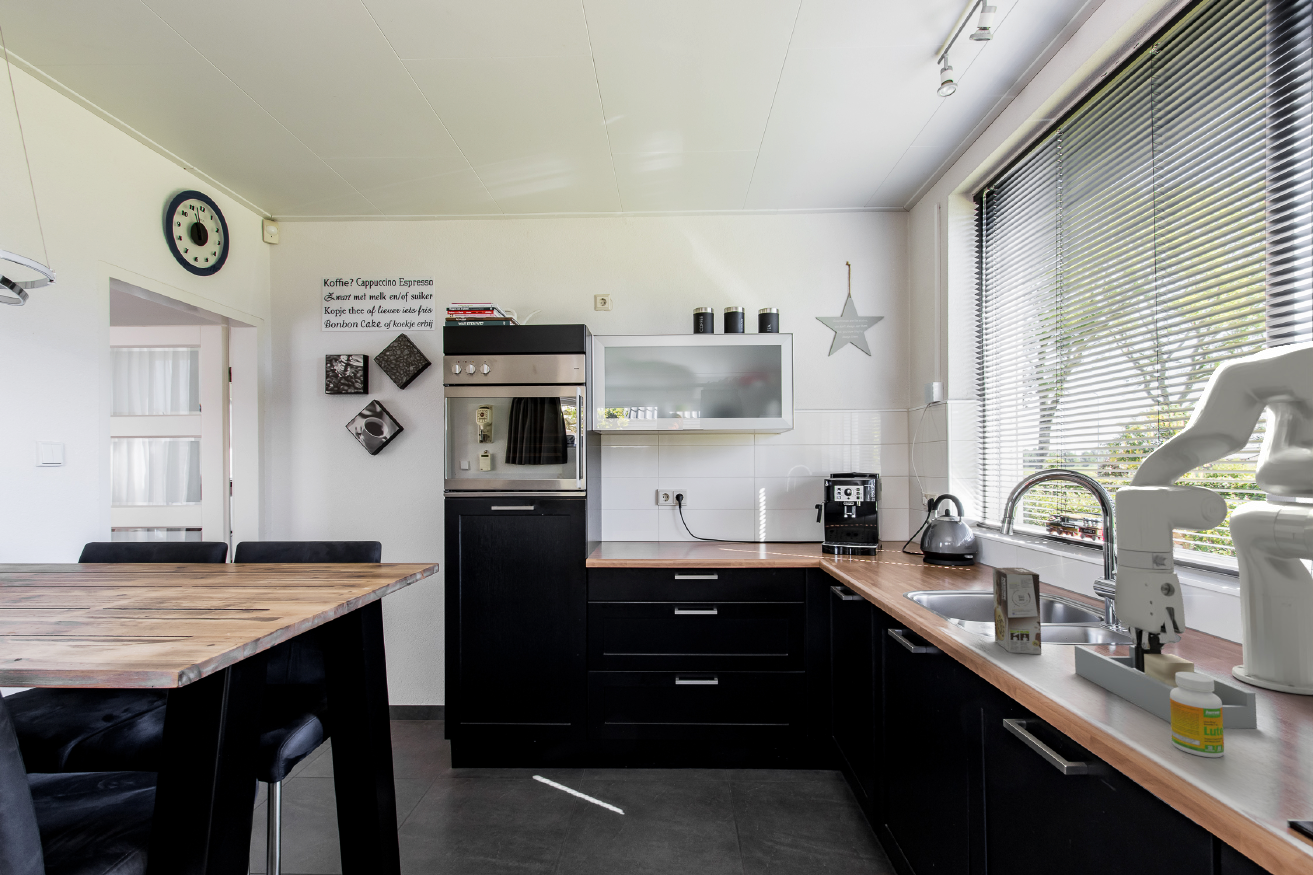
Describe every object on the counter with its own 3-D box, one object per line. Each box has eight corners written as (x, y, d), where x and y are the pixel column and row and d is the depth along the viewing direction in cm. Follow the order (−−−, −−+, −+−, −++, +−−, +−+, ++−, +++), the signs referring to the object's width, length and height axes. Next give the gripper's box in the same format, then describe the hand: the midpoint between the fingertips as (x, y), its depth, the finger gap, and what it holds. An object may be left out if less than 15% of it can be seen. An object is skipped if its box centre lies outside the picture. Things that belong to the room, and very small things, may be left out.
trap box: (1136, 672, 115) (1135, 645, 115) (1257, 727, 91) (1255, 693, 91) (1075, 672, 116) (1074, 645, 116) (1179, 727, 92) (1177, 692, 92)
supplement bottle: (1210, 761, 81) (1207, 685, 82) (1162, 744, 86) (1160, 672, 86) (1233, 753, 83) (1229, 679, 84) (1185, 737, 88) (1182, 667, 89)
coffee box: (1043, 654, 126) (1040, 574, 127) (1008, 653, 128) (1005, 573, 128) (1026, 642, 135) (1023, 566, 136) (993, 640, 137) (991, 566, 137)
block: (1172, 681, 102) (1172, 653, 102) (1194, 691, 98) (1193, 662, 98) (1145, 681, 102) (1144, 653, 102) (1165, 691, 98) (1164, 662, 98)
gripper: (1204, 568, 98) (1209, 687, 97) (1135, 554, 113) (1139, 657, 112) (1155, 567, 98) (1159, 687, 97) (1092, 554, 113) (1095, 657, 112)
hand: (1148, 671), depth 104 cm, fingers closed
